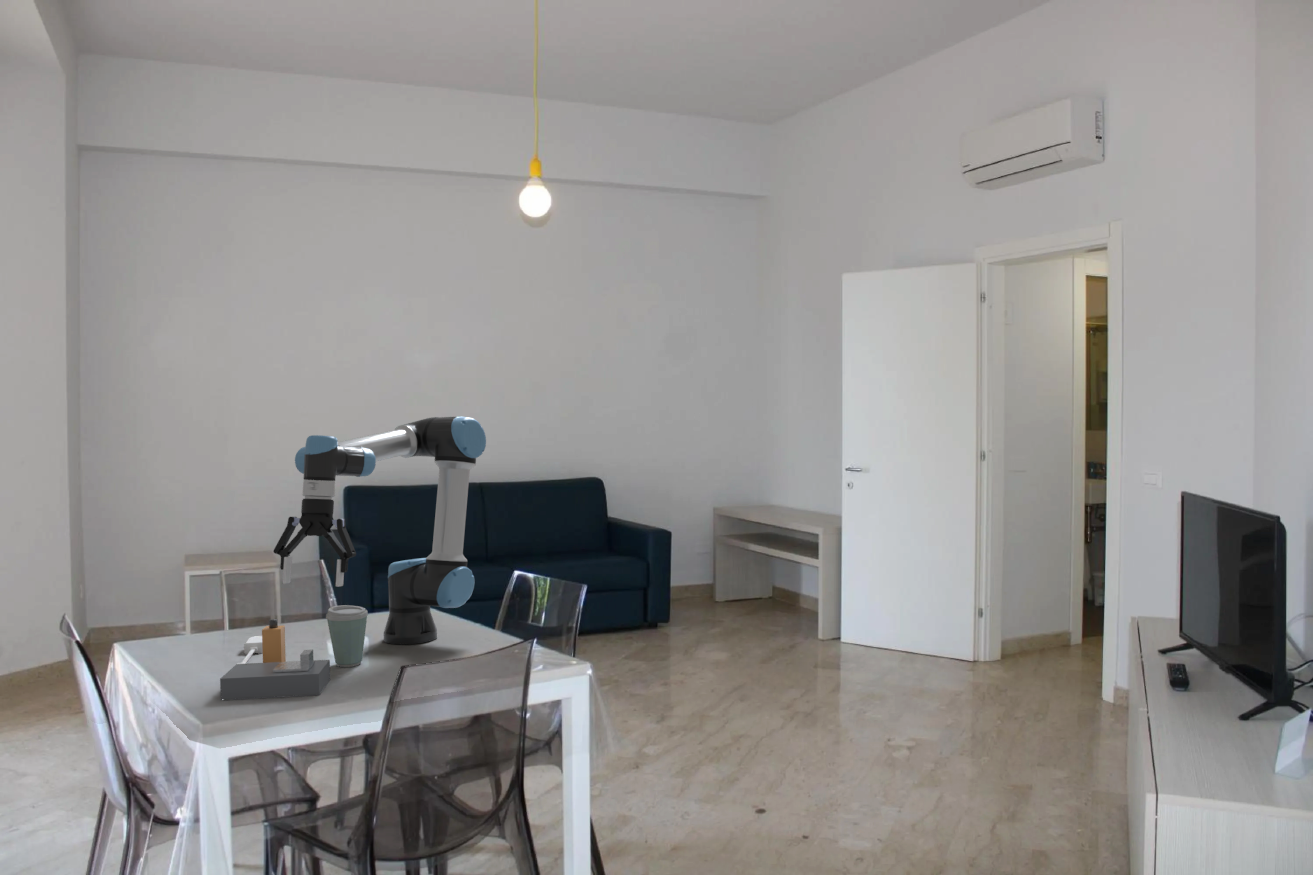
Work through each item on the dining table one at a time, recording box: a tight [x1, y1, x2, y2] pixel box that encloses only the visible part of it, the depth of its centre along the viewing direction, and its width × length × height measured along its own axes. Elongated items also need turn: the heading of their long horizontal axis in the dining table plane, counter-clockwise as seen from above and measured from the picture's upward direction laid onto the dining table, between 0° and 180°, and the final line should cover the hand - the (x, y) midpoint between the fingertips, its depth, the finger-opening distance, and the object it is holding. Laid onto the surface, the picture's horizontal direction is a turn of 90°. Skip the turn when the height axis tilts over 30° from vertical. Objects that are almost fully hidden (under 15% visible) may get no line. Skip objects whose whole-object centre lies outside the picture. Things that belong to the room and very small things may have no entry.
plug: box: [261, 618, 287, 663], centre depth 261 cm, size 4×4×14 cm
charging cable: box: [236, 635, 263, 664], centre depth 279 cm, size 5×32×3 cm, turn 11°
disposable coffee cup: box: [325, 604, 368, 668], centre depth 270 cm, size 11×11×15 cm
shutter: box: [273, 649, 315, 673], centre depth 247 cm, size 8×8×4 cm
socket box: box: [219, 659, 331, 701], centre depth 247 cm, size 22×14×5 cm, turn 98°
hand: (312, 584), depth 253 cm, fingers open, 13 cm apart
